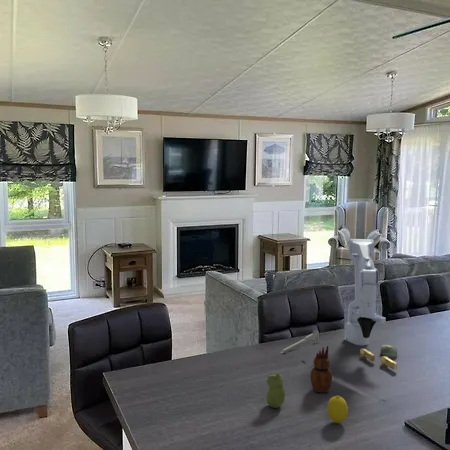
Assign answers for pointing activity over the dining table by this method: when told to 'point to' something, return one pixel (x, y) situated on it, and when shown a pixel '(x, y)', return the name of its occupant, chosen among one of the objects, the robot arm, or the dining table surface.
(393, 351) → the base
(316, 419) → the dining table surface
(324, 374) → the wooden figurine
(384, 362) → the knob
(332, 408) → the lemon
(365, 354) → the knob
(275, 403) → the pear
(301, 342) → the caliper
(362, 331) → the robot arm
